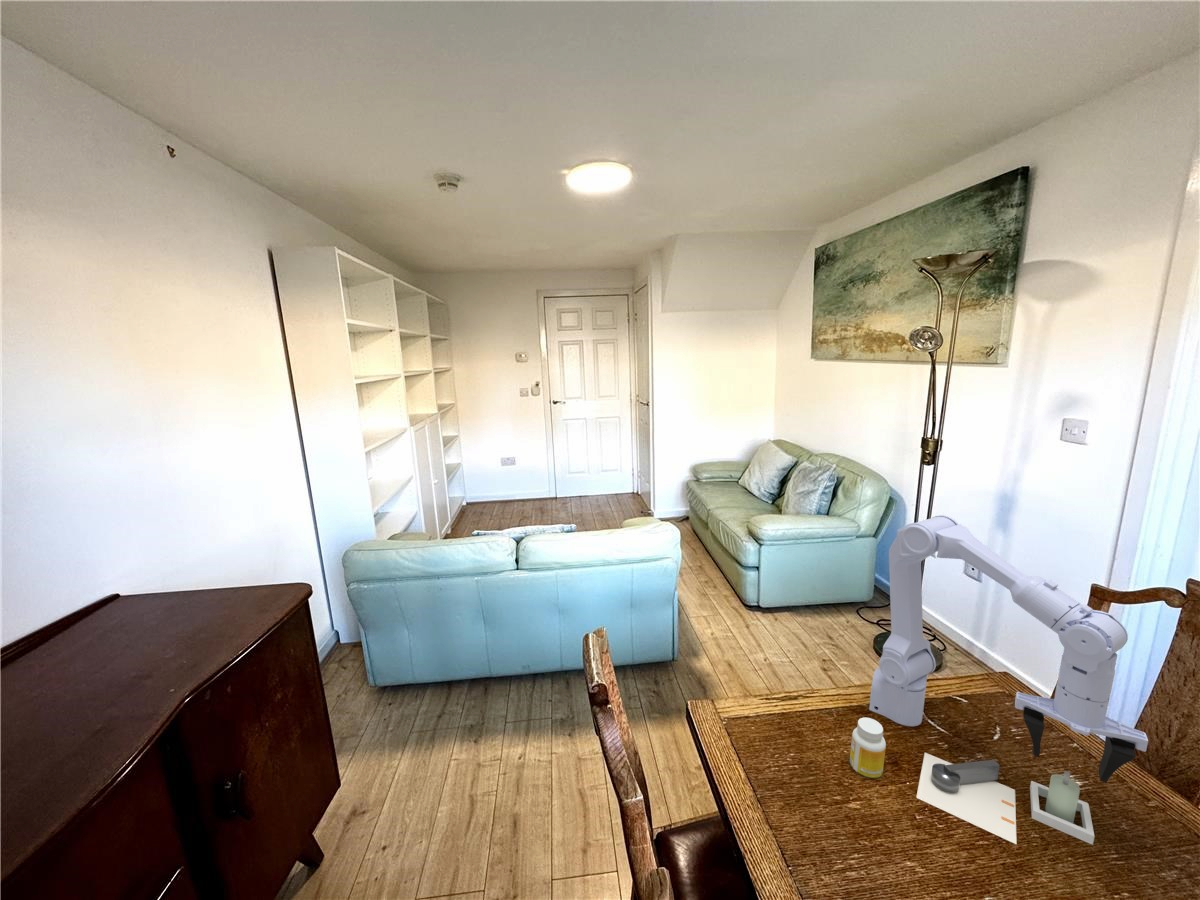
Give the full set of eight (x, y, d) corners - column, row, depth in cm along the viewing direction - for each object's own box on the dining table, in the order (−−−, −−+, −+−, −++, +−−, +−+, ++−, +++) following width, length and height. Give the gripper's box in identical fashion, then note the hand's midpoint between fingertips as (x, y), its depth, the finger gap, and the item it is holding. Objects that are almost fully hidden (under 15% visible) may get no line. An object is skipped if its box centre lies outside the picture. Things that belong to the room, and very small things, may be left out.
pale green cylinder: (1045, 821, 79) (1053, 774, 77) (1043, 806, 81) (1051, 760, 79) (1074, 833, 76) (1083, 785, 75) (1071, 817, 79) (1080, 770, 77)
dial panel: (915, 802, 82) (916, 796, 82) (924, 756, 91) (924, 751, 91) (1015, 849, 74) (1016, 843, 74) (1014, 794, 83) (1015, 789, 83)
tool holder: (1030, 823, 78) (1033, 810, 78) (1029, 792, 84) (1031, 780, 83) (1091, 849, 74) (1094, 836, 73) (1085, 816, 79) (1088, 803, 79)
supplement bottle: (842, 763, 90) (846, 718, 89) (864, 755, 92) (868, 710, 90) (867, 787, 85) (871, 740, 84) (889, 777, 87) (894, 731, 85)
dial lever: (943, 794, 82) (945, 779, 82) (925, 774, 86) (927, 759, 86) (1004, 786, 83) (1007, 772, 83) (984, 767, 87) (986, 753, 87)
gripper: (1020, 683, 76) (1008, 757, 78) (1159, 726, 67) (1140, 809, 69) (1020, 661, 81) (1008, 731, 84) (1148, 698, 72) (1131, 776, 75)
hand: (1068, 764), depth 77 cm, fingers open, 7 cm apart
